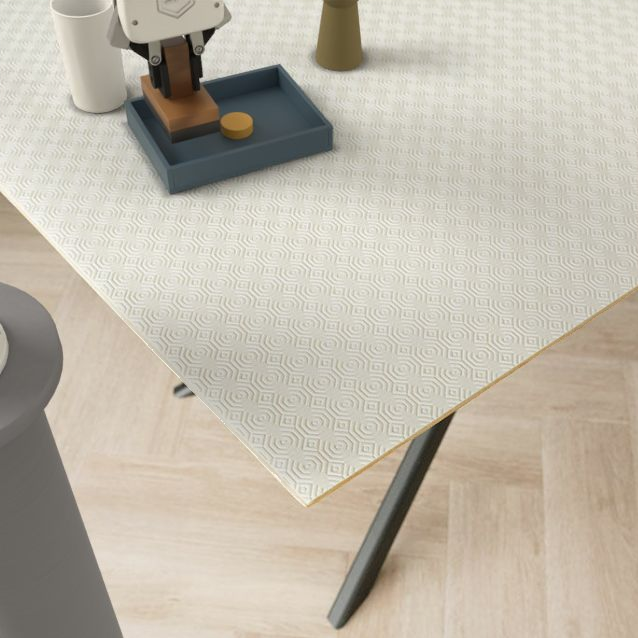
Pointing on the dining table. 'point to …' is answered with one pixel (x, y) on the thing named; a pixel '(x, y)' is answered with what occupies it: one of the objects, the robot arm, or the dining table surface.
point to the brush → (181, 97)
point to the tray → (237, 154)
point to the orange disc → (236, 125)
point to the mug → (89, 54)
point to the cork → (339, 36)
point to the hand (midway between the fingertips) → (177, 86)
